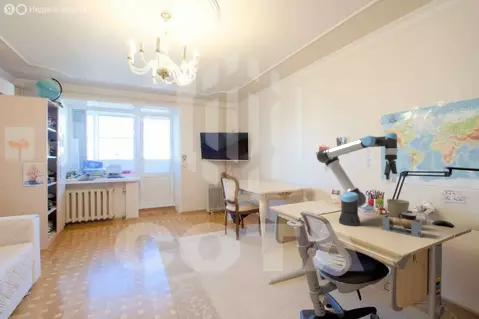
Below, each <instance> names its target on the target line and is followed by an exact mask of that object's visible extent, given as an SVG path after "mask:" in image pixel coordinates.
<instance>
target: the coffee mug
mask: <svg viewBox="0 0 479 319" xmlns="http://www.w3.org/2000/svg"><path fill="white" fill-rule="evenodd" d="M401 215H402V219H407V220H413V221H414V220H417V214H416V213H412V212H407V213H402V214H401ZM399 218H400V214H399ZM403 229H406V230H411V228H409V227H403Z"/></svg>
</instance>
